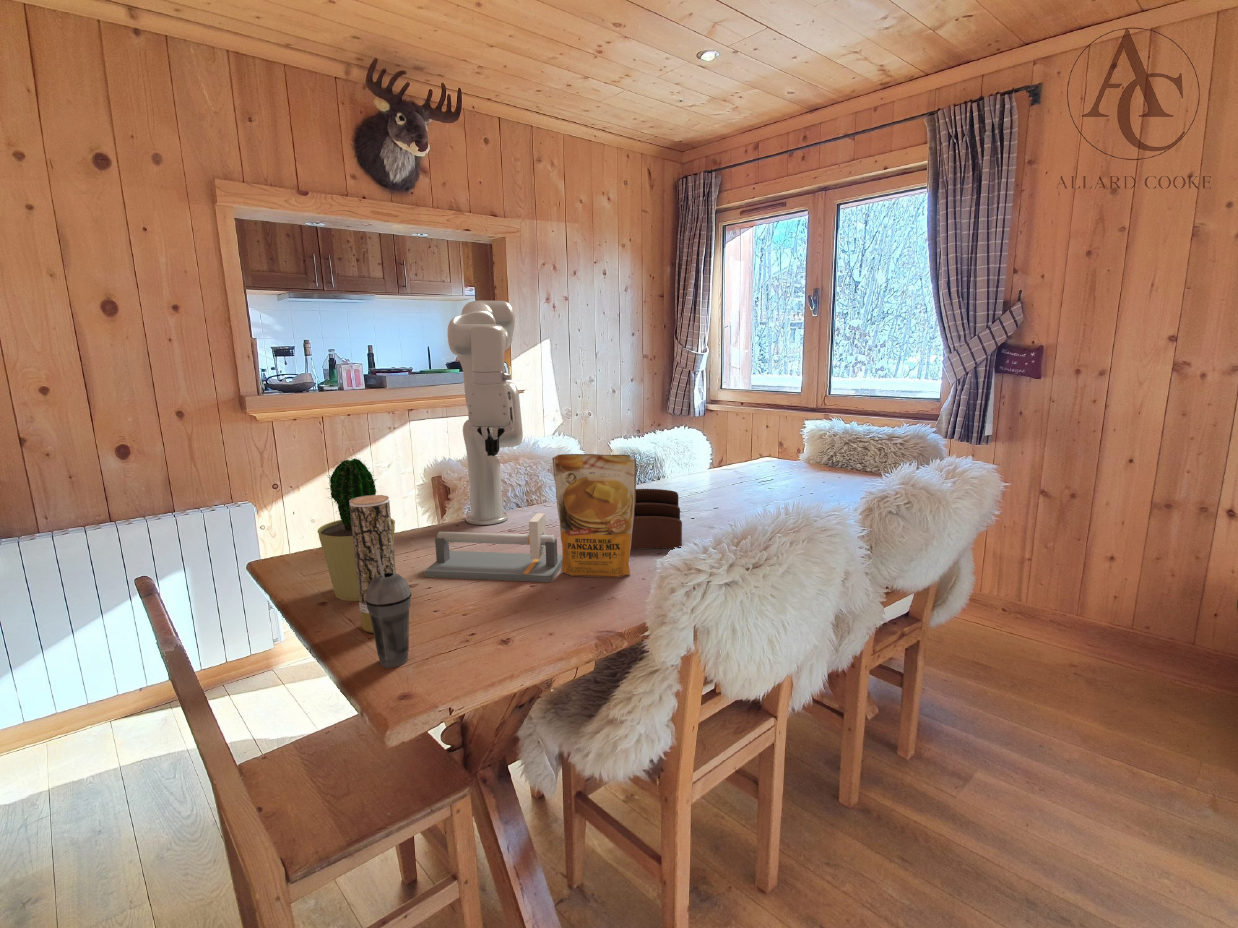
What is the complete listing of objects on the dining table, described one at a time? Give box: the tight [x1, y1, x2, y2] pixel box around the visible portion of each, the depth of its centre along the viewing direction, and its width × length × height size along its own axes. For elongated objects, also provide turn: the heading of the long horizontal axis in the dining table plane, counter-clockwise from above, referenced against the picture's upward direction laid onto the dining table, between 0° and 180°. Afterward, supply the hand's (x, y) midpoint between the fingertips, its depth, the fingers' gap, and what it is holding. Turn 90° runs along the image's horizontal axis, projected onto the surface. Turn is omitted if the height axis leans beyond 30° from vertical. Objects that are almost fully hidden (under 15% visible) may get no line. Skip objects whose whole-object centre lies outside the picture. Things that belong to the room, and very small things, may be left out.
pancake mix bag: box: [551, 453, 638, 579], centre depth 140 cm, size 7×19×28 cm, turn 83°
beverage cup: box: [365, 550, 412, 668], centre depth 102 cm, size 7×7×20 cm
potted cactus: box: [317, 456, 396, 602], centre depth 131 cm, size 15×15×30 cm
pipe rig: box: [424, 531, 562, 583], centre depth 145 cm, size 14×30×9 cm, turn 82°
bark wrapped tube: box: [349, 494, 397, 634], centre depth 114 cm, size 7×7×25 cm
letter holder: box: [631, 488, 683, 549], centre depth 162 cm, size 10×20×14 cm, turn 91°
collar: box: [528, 512, 547, 559], centre depth 143 cm, size 7×2×9 cm, turn 172°
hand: (492, 454), depth 148 cm, fingers closed
